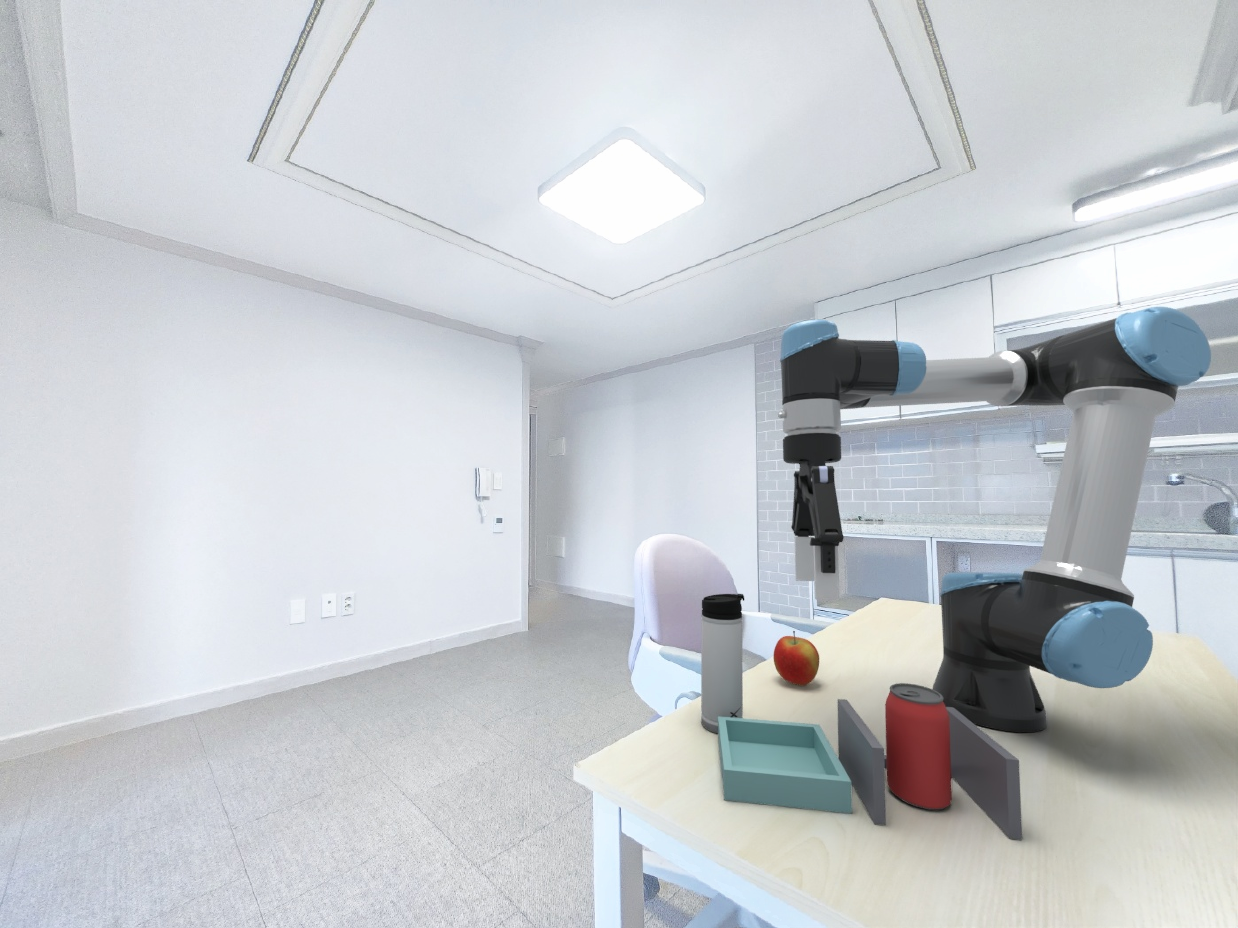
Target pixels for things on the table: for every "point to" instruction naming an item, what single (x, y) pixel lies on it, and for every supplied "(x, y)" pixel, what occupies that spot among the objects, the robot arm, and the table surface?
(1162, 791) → the table surface
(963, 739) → the bay
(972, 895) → the table surface
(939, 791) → the beer can
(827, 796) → the tray
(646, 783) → the table surface
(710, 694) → the travel mug
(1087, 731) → the table surface
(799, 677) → the apple
